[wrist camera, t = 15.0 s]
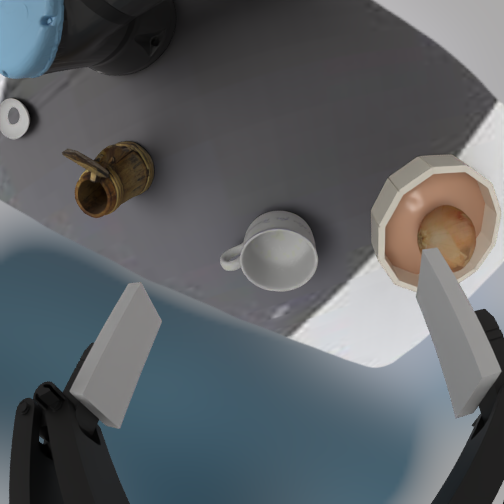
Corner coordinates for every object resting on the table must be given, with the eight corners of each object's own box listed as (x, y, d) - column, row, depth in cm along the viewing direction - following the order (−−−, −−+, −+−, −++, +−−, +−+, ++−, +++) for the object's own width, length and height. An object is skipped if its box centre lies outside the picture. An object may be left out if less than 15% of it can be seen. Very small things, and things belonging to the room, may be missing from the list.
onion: (407, 199, 42) (431, 233, 33) (461, 191, 39) (493, 222, 31) (407, 252, 46) (427, 292, 38) (458, 243, 44) (483, 279, 36)
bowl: (367, 160, 40) (376, 171, 36) (490, 153, 36) (507, 164, 31) (370, 281, 52) (376, 300, 48) (475, 265, 47) (485, 282, 43)
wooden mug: (173, 128, 41) (110, 170, 26) (144, 202, 48) (88, 268, 33) (123, 106, 39) (44, 138, 24) (100, 180, 46) (34, 236, 32)
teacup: (317, 204, 45) (322, 231, 38) (311, 263, 51) (314, 295, 44) (224, 201, 46) (212, 227, 40) (228, 260, 53) (219, 291, 46)
